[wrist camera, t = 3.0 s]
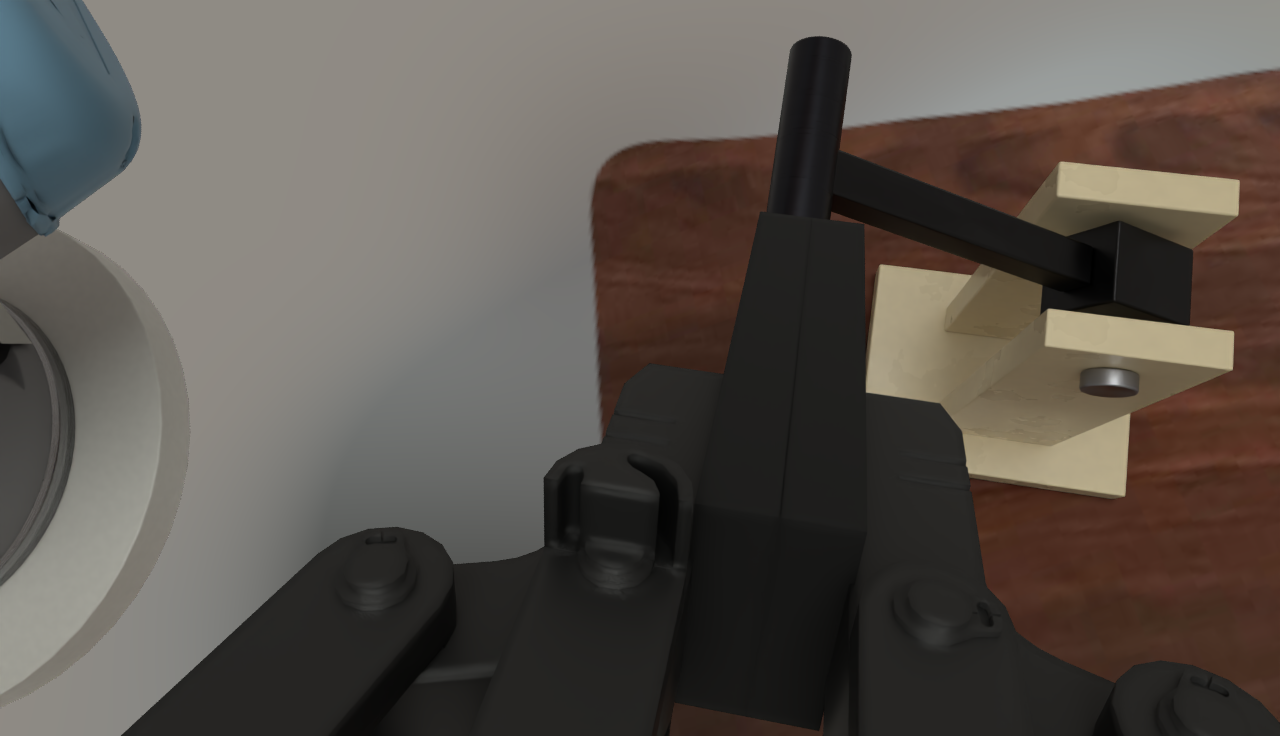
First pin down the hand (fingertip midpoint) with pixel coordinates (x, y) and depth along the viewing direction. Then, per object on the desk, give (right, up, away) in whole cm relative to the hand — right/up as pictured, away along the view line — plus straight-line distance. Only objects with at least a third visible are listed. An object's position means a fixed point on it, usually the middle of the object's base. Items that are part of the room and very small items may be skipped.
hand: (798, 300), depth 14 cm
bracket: (+12, -2, +24) cm, 26 cm away
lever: (+6, +2, +10) cm, 12 cm away
